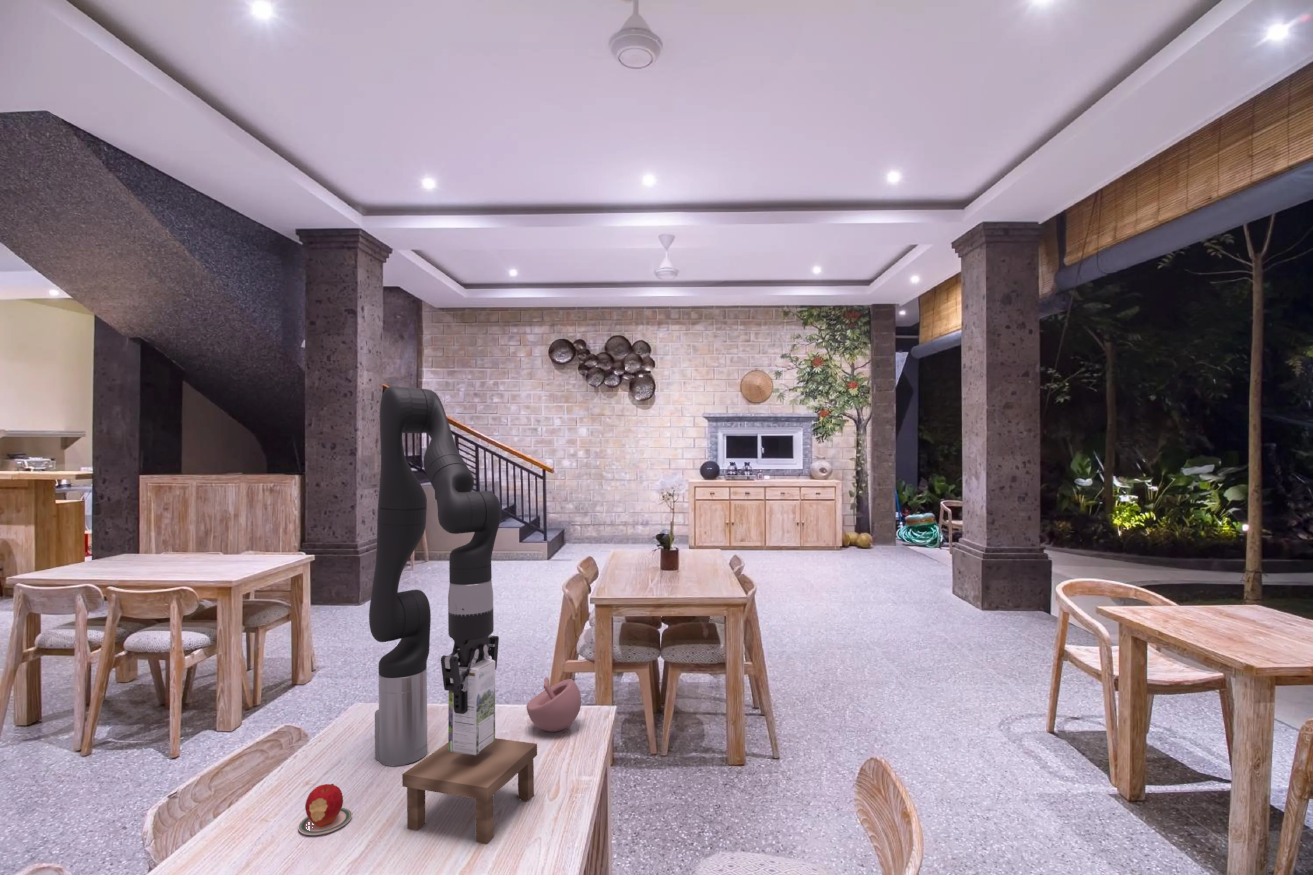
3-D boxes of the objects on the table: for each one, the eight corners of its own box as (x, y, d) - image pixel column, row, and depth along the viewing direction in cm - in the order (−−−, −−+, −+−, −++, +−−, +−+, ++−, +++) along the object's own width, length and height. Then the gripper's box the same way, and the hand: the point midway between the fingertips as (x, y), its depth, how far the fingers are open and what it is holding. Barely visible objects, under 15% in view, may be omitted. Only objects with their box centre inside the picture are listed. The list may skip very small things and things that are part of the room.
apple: (358, 824, 107) (358, 784, 108) (305, 843, 102) (305, 802, 102) (344, 805, 113) (343, 767, 114) (293, 823, 108) (292, 783, 108)
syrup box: (468, 737, 114) (467, 655, 115) (496, 741, 112) (495, 658, 113) (447, 751, 109) (446, 665, 109) (477, 756, 107) (476, 668, 107)
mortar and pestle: (531, 719, 149) (530, 669, 149) (583, 717, 150) (582, 667, 150) (522, 742, 137) (522, 687, 137) (579, 739, 138) (578, 685, 138)
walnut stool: (402, 829, 105) (402, 773, 106) (461, 782, 120) (460, 733, 121) (487, 846, 100) (487, 787, 101) (537, 794, 115) (537, 743, 116)
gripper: (464, 618, 103) (465, 725, 103) (511, 599, 117) (512, 693, 117) (425, 616, 106) (426, 719, 105) (476, 597, 119) (477, 689, 119)
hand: (471, 705), depth 111 cm, fingers closed on syrup box, 5 cm apart
